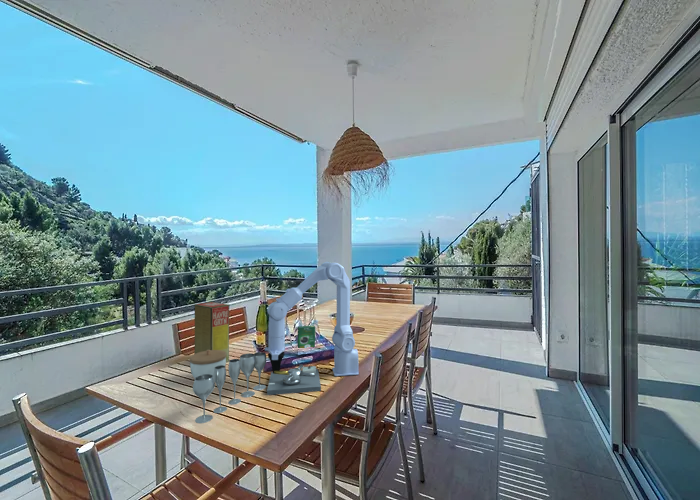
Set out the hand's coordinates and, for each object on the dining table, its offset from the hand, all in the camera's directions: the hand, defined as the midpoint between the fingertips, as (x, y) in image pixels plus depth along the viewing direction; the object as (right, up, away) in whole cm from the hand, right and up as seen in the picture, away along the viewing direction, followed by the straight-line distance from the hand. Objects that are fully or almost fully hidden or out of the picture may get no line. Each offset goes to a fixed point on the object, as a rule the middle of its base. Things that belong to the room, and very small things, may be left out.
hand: (276, 373), depth 113 cm
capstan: (+7, -2, -2) cm, 8 cm away
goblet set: (-10, -4, -13) cm, 17 cm away
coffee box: (+7, -4, +32) cm, 33 cm away
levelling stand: (+7, -4, +1) cm, 8 cm away
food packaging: (-34, -4, +23) cm, 41 cm away
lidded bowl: (-26, -4, +4) cm, 27 cm away
